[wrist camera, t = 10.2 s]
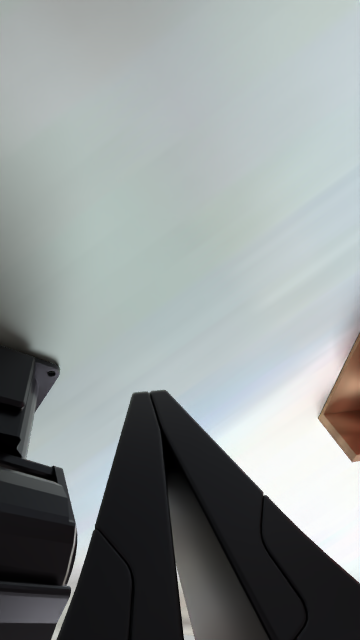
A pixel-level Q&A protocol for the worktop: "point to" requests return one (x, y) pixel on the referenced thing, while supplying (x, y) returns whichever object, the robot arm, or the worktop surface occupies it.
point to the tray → (345, 407)
